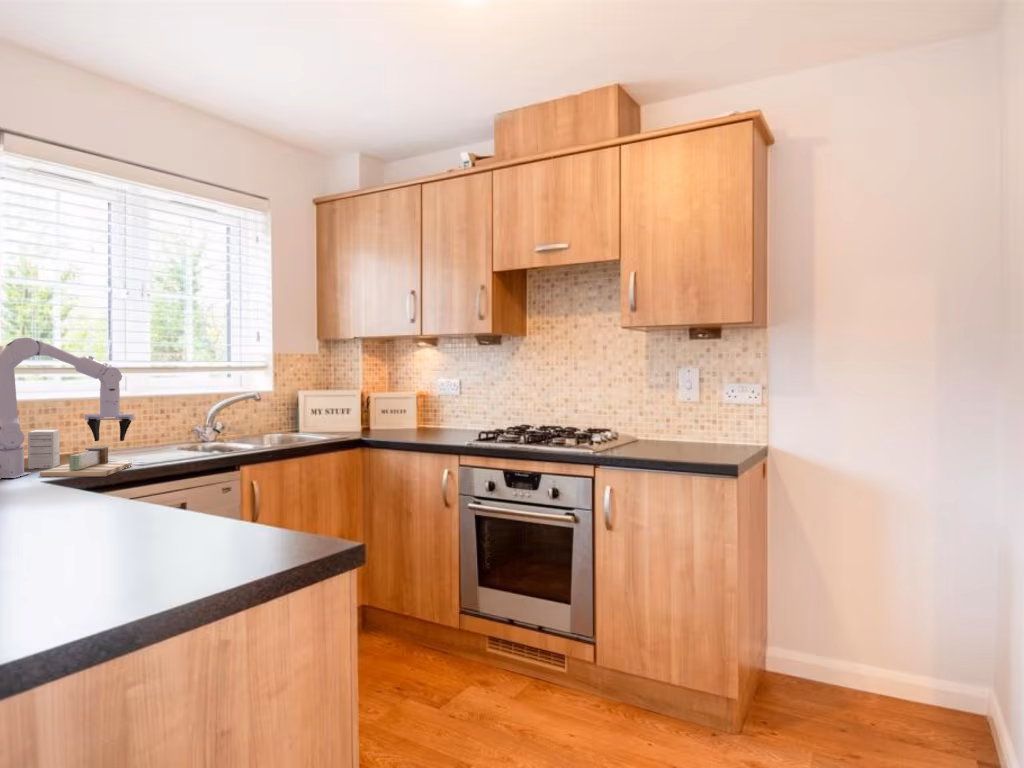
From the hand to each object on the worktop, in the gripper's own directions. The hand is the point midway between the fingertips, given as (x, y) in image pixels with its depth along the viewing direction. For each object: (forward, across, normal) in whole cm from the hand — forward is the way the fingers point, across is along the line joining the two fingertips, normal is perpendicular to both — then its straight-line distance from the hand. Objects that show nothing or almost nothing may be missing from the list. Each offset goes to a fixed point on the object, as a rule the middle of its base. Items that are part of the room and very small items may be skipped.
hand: (109, 440), depth 216 cm
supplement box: (+10, -22, +5) cm, 24 cm away
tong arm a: (+8, -4, -8) cm, 12 cm away
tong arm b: (+8, -6, -7) cm, 12 cm away
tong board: (+9, -4, -7) cm, 12 cm away
